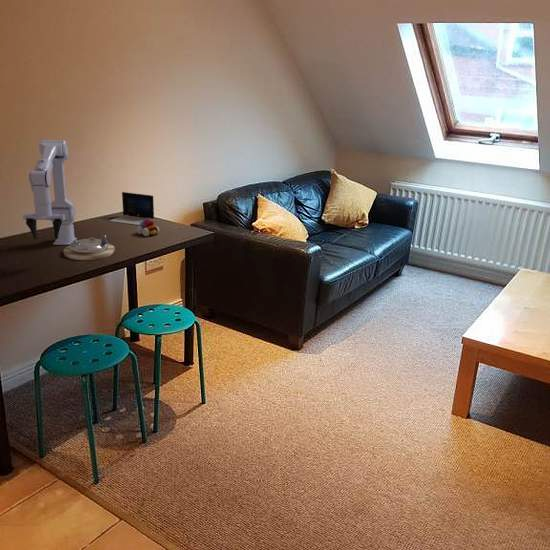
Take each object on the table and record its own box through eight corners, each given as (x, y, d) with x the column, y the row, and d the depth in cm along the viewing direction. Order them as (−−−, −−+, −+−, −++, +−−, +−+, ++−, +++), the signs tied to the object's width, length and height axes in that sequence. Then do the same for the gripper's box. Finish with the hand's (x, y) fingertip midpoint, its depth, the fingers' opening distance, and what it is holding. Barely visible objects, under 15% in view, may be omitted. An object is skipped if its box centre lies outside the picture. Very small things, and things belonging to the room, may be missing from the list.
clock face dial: (74, 243, 231) (73, 230, 229) (111, 243, 233) (110, 230, 231) (66, 254, 217) (64, 240, 215) (105, 254, 219) (104, 241, 217)
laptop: (109, 222, 272) (107, 196, 268) (123, 216, 284) (122, 191, 279) (141, 226, 267) (140, 200, 263) (154, 220, 279) (153, 195, 274)
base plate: (69, 245, 234) (69, 241, 233) (118, 245, 236) (117, 241, 236) (58, 260, 215) (58, 256, 214) (110, 260, 218) (110, 256, 217)
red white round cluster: (147, 238, 249) (147, 222, 246) (133, 234, 254) (133, 218, 251) (162, 234, 255) (161, 219, 252) (148, 230, 260) (147, 215, 258)
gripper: (18, 205, 198) (22, 241, 203) (59, 206, 200) (63, 241, 205) (24, 200, 205) (28, 235, 210) (64, 201, 207) (68, 236, 211)
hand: (46, 238), depth 208 cm, fingers open, 7 cm apart
